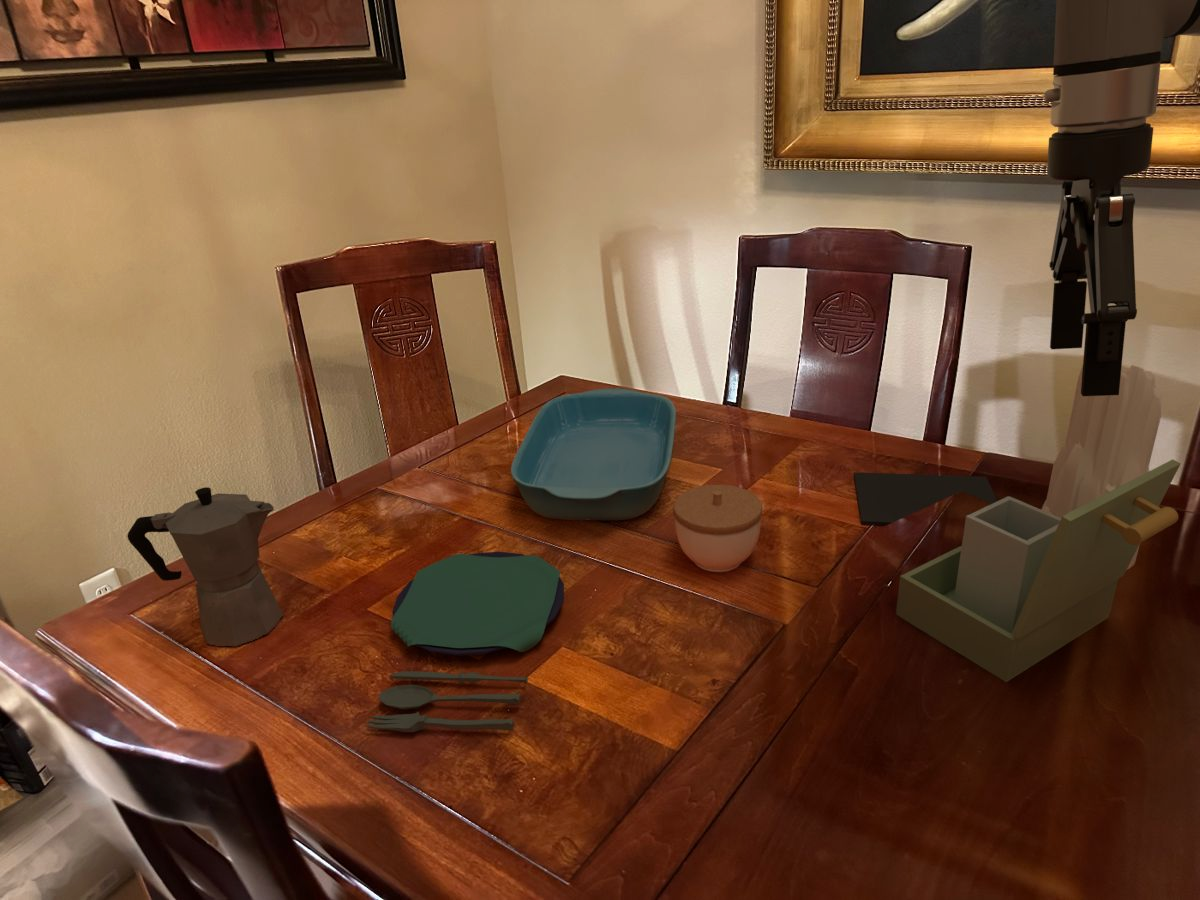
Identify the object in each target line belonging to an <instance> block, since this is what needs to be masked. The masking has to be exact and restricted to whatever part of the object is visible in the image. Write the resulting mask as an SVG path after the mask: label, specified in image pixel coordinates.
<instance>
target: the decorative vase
mask: <svg viewBox="0 0 1200 900" xmlns="http://www.w3.org/2000/svg"><path fill="white" fill-rule="evenodd" d="M1082 371H1083V365H1082V366H1081V369H1080V371H1079V374H1078V377H1077V383H1076V386H1075V387H1076V388H1075V392H1074V398H1073V403H1072V408H1071V413H1070V418H1069V424H1068V429H1067V434H1066V439H1065V444H1064V446H1062V447H1061V450H1060V451H1059V453H1058V455H1056V458H1055V460H1054V461H1053V465H1052V469H1051V474H1050V480H1049V485H1048V490H1047V494H1046V499H1045V500H1044V503H1043V505H1042V507H1041V508H1040V509H1041V510H1043V511H1045V512H1048V513H1050V514H1052V515H1055V516H1057V517H1060V518H1062V516H1064V515H1066V514H1067V513H1069V512H1071V511H1073V510H1075V509H1077V508H1079V507H1081V506H1083V505H1085V504H1087V503H1089V502H1091V501H1093V500H1095V499H1097V498H1099V497H1101V496H1102V495H1104V494H1106V493H1108V492H1110V491H1112V490H1114V489H1116V488H1118V487H1120V486H1122V485H1124V484H1126V483H1128V482H1130V481H1132V480H1134V479H1135V478H1137V477H1139V476H1141V475H1143V474H1145V473H1147V472H1149V471H1150V462H1151V459H1152V455H1153V452H1154V446H1155V442H1156V438H1157V435H1158V431H1159V426H1160V422H1161V418H1162V395H1161V394H1160V392H1159V390H1158V389H1157V388H1156V380H1155V374H1154V373H1152V371H1150V370H1148V371H1145V369H1144V368H1143V367H1140V366H1137V365H1134V364H1131V365H1130V366H1129V368H1128V370H1127V369H1124V368H1121V377H1120V388H1119V395H1107V396H1082V394H1081V384H1082ZM1140 545H1141V543H1140V544H1139V546H1138V548H1137V550H1136V552H1135V554H1134V556H1133V558H1132V560H1131V562H1130V564H1129V566H1128V568H1127V570H1129V569H1131V568H1132V567H1134V566H1135V564H1136V561H1137V558H1138V553H1139V550H1140V549H1139V548H1140Z"/></svg>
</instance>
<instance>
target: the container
mask: <svg viewBox="0 0 1200 900" xmlns="http://www.w3.org/2000/svg"><path fill="white" fill-rule="evenodd" d="M1041 509H1042V508H1039V507H1035V506H1033V505H1031V504H1029V503H1026V502H1024V501H1022V500H1019V499H1017V498H1015V497H1013V496H1009V495H1007V496H1005V497H1003V498H1001V499H1000V500H997V502H995V503H993V504H991V503H990V504H989V505H987V506H984V507H982V508H980V509H977V510H976V511H974V512H972V513H970V514H967V515H965V520H964V521H965V522H964V527H963V533H962V534H963V535H962V542H961V546H962V548H961V555H960V562H959V568H958V575H957V582H956V589H955V596H954V602H956V603H957V604H959V605H961V606H963V607H964V608H966V609H968V610H970V611H972V612H973V613H975V614H977V615H979V616H980V617H982V618H984V619H986V620H988V621H989V622H991V623H993V624H995V625H997V626H998V627H1000V628H1002V629H1004V630H1005V631H1007V632H1009V633H1012V631H1013V629H1014V626H1015V624H1016V622H1017V620H1018V617H1019V615H1020V613H1021V610H1022V608H1023V606H1024V603H1025V601H1026V599H1027V596H1028V594H1029V592H1030V589H1031V587H1032V585H1033V583H1034V580H1035V578H1036V576H1037V573H1038V571H1039V569H1040V566H1041V564H1042V562H1043V559H1044V557H1045V555H1046V553H1047V550H1048V548H1049V546H1050V543H1051V541H1052V539H1053V536H1054V534H1055V532H1056V529H1057V527H1058V525H1059V523H1060V520H1061V518H1060V517H1057V516H1055V515H1052V514H1050V513H1048V512H1045V511H1043V510H1041Z"/></svg>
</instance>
